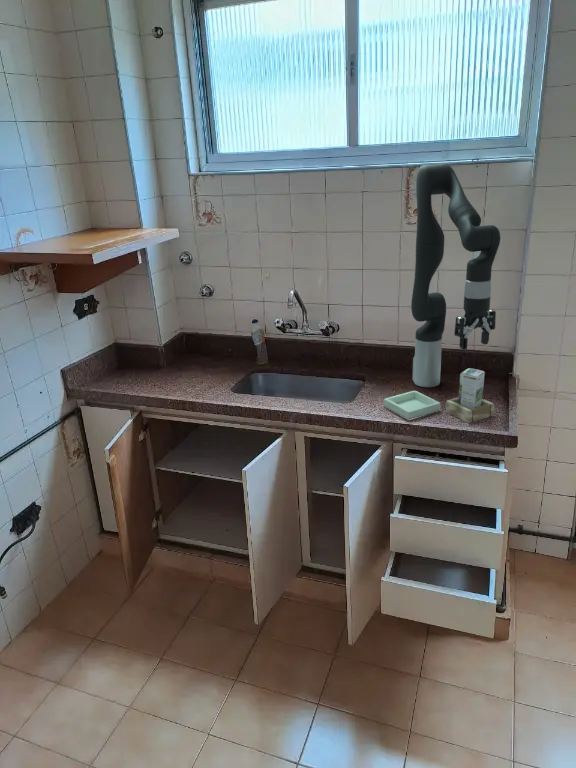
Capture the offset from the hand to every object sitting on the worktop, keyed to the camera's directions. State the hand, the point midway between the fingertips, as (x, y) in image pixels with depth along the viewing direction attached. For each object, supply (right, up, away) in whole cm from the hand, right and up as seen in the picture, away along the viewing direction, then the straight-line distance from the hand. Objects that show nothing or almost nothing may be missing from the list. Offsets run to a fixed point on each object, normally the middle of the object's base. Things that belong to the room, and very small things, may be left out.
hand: (474, 346), depth 180 cm
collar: (+1, -21, +8) cm, 23 cm away
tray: (-16, -20, +14) cm, 29 cm away
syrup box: (+1, -21, +9) cm, 23 cm away
